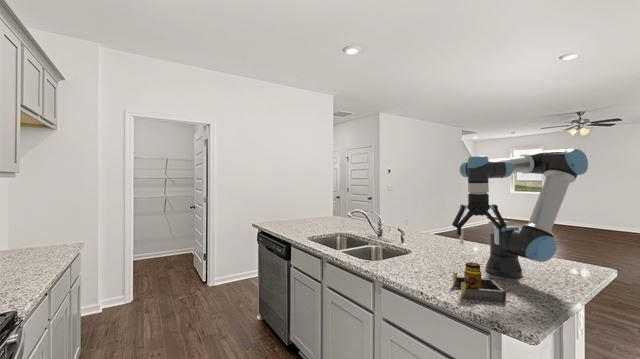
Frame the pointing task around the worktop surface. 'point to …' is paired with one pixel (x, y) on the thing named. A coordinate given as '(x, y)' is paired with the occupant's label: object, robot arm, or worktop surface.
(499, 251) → the robot arm
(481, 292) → the grey open rectangular box
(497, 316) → the worktop surface
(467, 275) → the condiment
